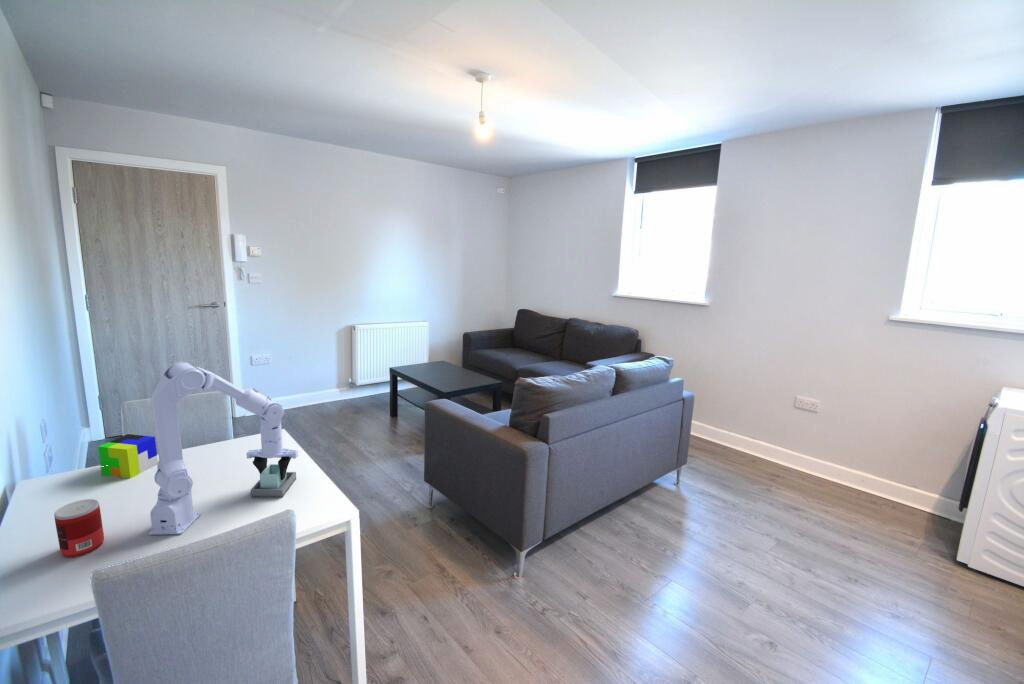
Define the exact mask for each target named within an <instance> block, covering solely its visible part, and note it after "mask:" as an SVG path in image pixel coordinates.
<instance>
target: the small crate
mask: <svg viewBox="0 0 1024 684" xmlns="http://www.w3.org/2000/svg"><path fill="white" fill-rule="evenodd" d="M286 478H287V476H285V478H284V479H283V480H281V478H280V469H279V465H278V463H269V464H267V467H266V468H265V469H264V471H263V472H262V473H261V474H260V473H259V480H260V487H261V489H279V487H280V486H281V485H282V483H283V482H284V481H285V480H286Z"/></svg>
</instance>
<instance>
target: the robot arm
mask: <svg viewBox="0 0 1024 684" xmlns="http://www.w3.org/2000/svg"><path fill="white" fill-rule="evenodd" d="M200 389H202V390H204V391H205V390H209V389H214V390H216V391H218V392H220V393H222V394H224V395H227V396H228V397H231V398H232V399H235V405H236V406H238V407H240V408H241V409H244V410H246V411H248V412H250V413H252V414H254V415H256V416H258V417H259V422H260V427H259V428H260V440H261V441H260V442H261V443H260V445H261V448H259V449H249V450H248V451H247V452H246V459H252V458H254V459H253V460H252V464H253V466H254V467H255V468H256V469H257V470H258V471H257V472H258V473H259V475H260V474H261V473H262V472H263V471H264V469H265V468H266V467H267V466H268V459H274V458H275V459H276V458H280V459H279V460H278V461H277V464H278V465H279V469H280V478H281V480H283V479H284V478H285V476H286V472H288V471H287V469H288V466H289V464H290V462H291V460H293V459H294V460H295V459H297V458H298V456H299V451H298V450H297V449H289V448H284V445H283V430H282V418H283V417H284V415H285V410H284V409H283V406H282V405H281V404H279V403H278V402H276V401H274V400H273V398H272V397H270V396H266V395H264V394H262V393H260V390H258V389H256V388H255V387H253V388H251V387H246V388H243V389H242V388H240V387H239V386H236V385H234V383H231V382H230V381H228V380H226V379H224V378H223V377H221V376H219V375H217V374H216V373H214V372H212V371H209V370H208V369H206V368H205V369H204V368H202V367H199V366H196V365H195V366H193V365H192V364H191V363H189V362H187V361H177V362H174V363H173V364H171V365H169V367H167V368H165V369H164V370H163V372H162V373H161V378H160V380H159V381H158V384H157V385H156V387H155V389H154V391H153V392H152V394H151V398H150V399H151V409H152V416H153V425H154V432H155V440H156V448H157V456H158V463H157V465H156V467H157V469H156V472H155V474H154V482H155V484H156V485H158V487H160V488H159V490H158V492H157V501H156V503H155V504H154V506H153V507H152V509H151V510H150V523H151V530H150V532H148V535H153V536H154V535H156V536H157V535H181V534H183V533H184V532H185V531H186V530H187V529H188V528H189V527H190V526H191V525H192V524H193V523H194V522H195V521H196V520H197V519H198V518H199V517H200V516H201V515H202V512H201V511H194V505H193V494H192V488H193V483H194V481H193V479H192V477H191V476H190V475H189V474H188V469H187V466H186V463H185V460H184V456H183V447H182V440H181V431H180V424H179V416H178V414H179V413H178V407H177V405H178V403H179V402H180V401H182V399H184V398H186V397H188V396H189V395H191V394H193V393H195V392H197V391H199V390H200Z"/></svg>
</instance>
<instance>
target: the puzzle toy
mask: <svg viewBox="0 0 1024 684" xmlns="http://www.w3.org/2000/svg"><path fill="white" fill-rule="evenodd" d="M97 449H98V455H99V457H98V458H99V463H100V464H99V465H100V470H101V476H104V477H105V476H106V477H113V478H123V479H132V478H135V477H137V476H138V475H140V474H142V473H144V472H146V471H147V470H149V469H151V468H153V467H155V466H157V463H158V462H159V458H158V449H157V441H156V436H151V435H140V434H131V433H130V434H129V433H127V434H125V435H121V436H120V437H118V438H115V439H112V440H111V441H108V442H106V443H105V442H104V443H103V444H100V445H98V446H97ZM106 465H108V466H106ZM101 466H104V467H101Z"/></svg>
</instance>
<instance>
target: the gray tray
mask: <svg viewBox="0 0 1024 684" xmlns="http://www.w3.org/2000/svg"><path fill="white" fill-rule="evenodd" d="M286 476H287V478H286V480H285V481H284V482H283V483H282V485H281V486H280V487H279V489H261V487H260V479H259V480H258V481H257V482H256V483H255V485H253V486H252V487H251V489H250V498H284V496H285V495H286V494H287V492H288V491H290V488H291V487H292V486H293V484H294V482H295V481H296V480H297V471H286Z"/></svg>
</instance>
